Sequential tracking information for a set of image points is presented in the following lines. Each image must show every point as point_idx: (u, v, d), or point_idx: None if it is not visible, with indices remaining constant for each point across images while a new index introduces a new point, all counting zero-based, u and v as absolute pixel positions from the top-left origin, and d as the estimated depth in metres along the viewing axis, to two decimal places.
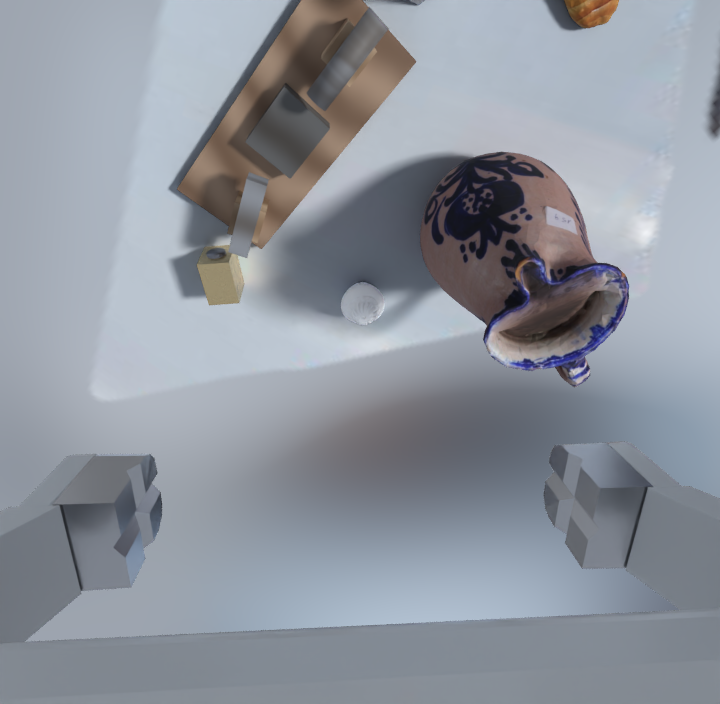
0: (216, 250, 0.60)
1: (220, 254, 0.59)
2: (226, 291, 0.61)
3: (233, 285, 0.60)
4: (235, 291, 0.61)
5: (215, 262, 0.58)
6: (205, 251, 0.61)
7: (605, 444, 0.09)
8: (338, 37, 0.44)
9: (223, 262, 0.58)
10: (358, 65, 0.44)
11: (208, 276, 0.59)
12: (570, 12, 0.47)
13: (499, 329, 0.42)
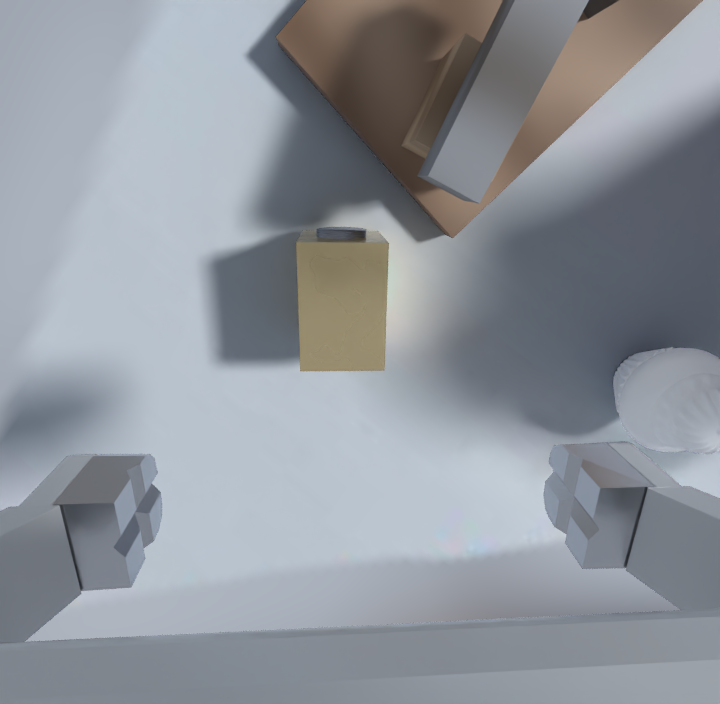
0: (341, 228, 0.23)
1: (358, 231, 0.22)
2: (358, 332, 0.22)
3: (382, 315, 0.21)
4: (383, 335, 0.22)
5: (350, 241, 0.20)
6: (309, 233, 0.23)
7: (605, 444, 0.09)
8: None
9: (372, 242, 0.20)
10: None
11: (321, 284, 0.21)
12: None
13: None
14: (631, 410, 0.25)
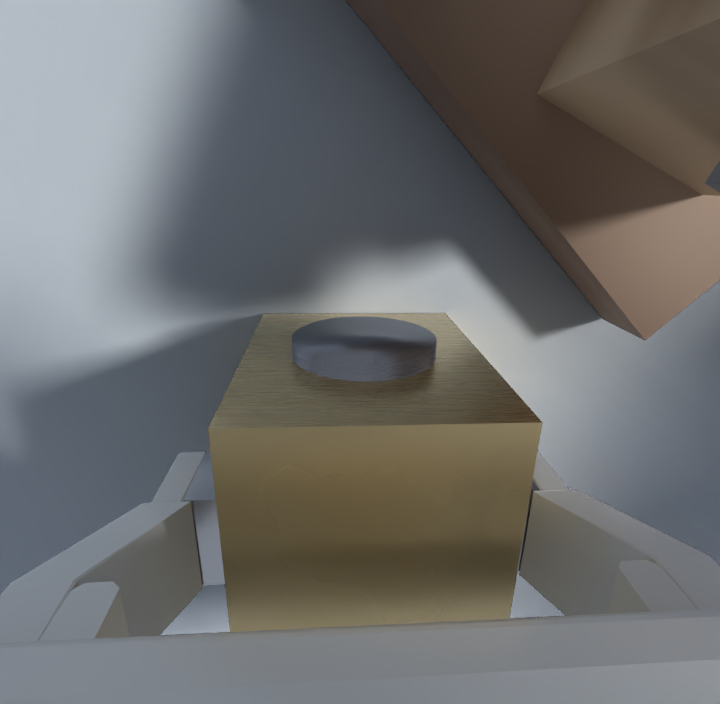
0: (361, 327, 0.08)
1: (419, 352, 0.07)
2: None
3: None
4: None
5: (404, 415, 0.06)
6: (276, 334, 0.09)
7: None
8: None
9: (480, 416, 0.06)
10: None
11: (303, 548, 0.06)
12: None
13: None
14: None
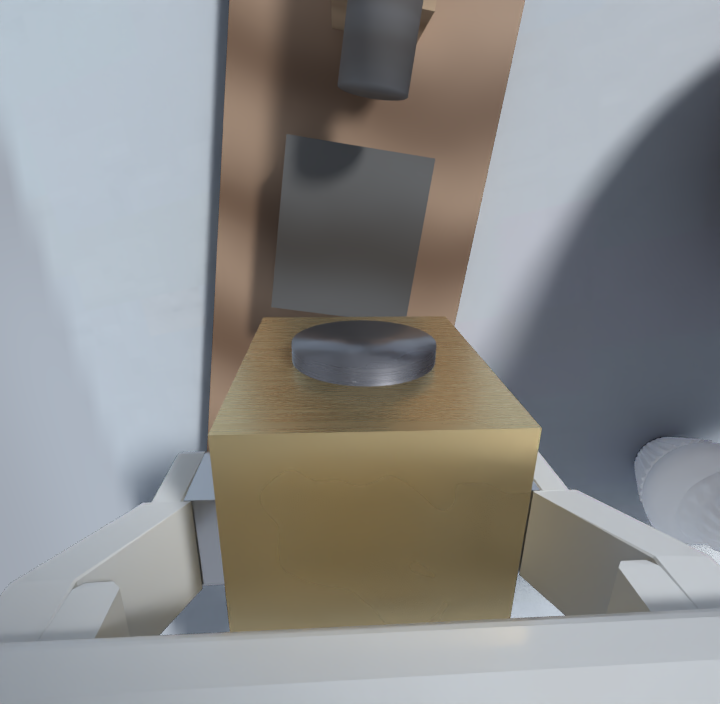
0: (361, 331, 0.08)
1: (418, 357, 0.07)
2: None
3: None
4: None
5: (404, 420, 0.06)
6: (276, 337, 0.09)
7: None
8: None
9: (479, 421, 0.06)
10: None
11: (303, 554, 0.06)
12: None
13: None
14: (661, 530, 0.26)
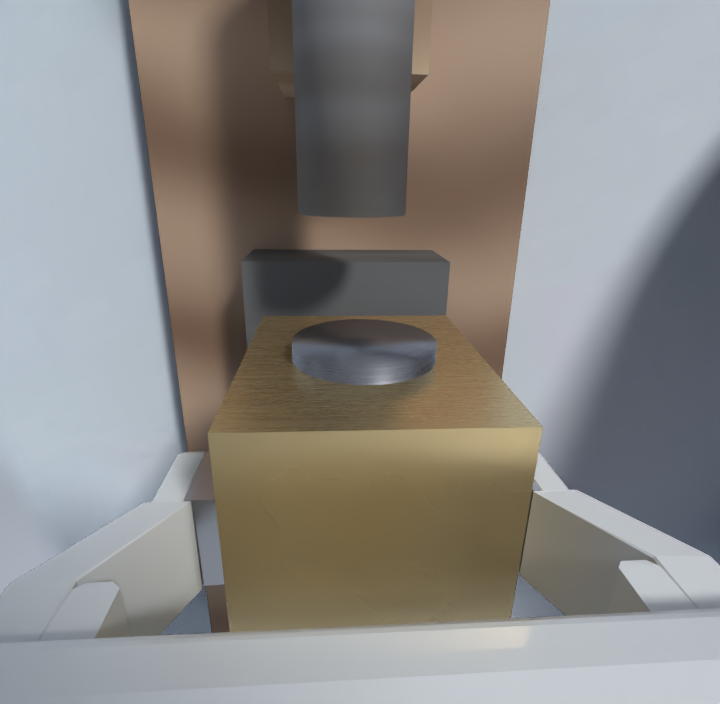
0: (361, 330, 0.08)
1: (419, 355, 0.07)
2: None
3: None
4: None
5: (405, 420, 0.06)
6: (275, 337, 0.09)
7: None
8: None
9: (481, 419, 0.06)
10: None
11: (303, 553, 0.06)
12: None
13: None
14: None
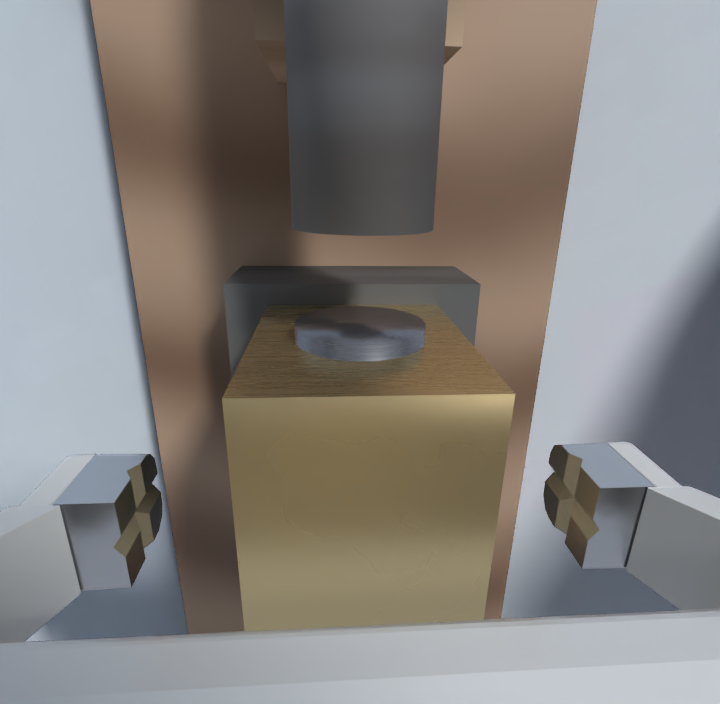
0: (358, 315, 0.09)
1: (409, 335, 0.08)
2: (410, 618, 0.08)
3: (480, 578, 0.08)
4: (476, 619, 0.08)
5: (394, 388, 0.07)
6: (280, 322, 0.10)
7: (605, 444, 0.09)
8: None
9: (461, 388, 0.07)
10: None
11: (305, 508, 0.07)
12: None
13: None
14: None
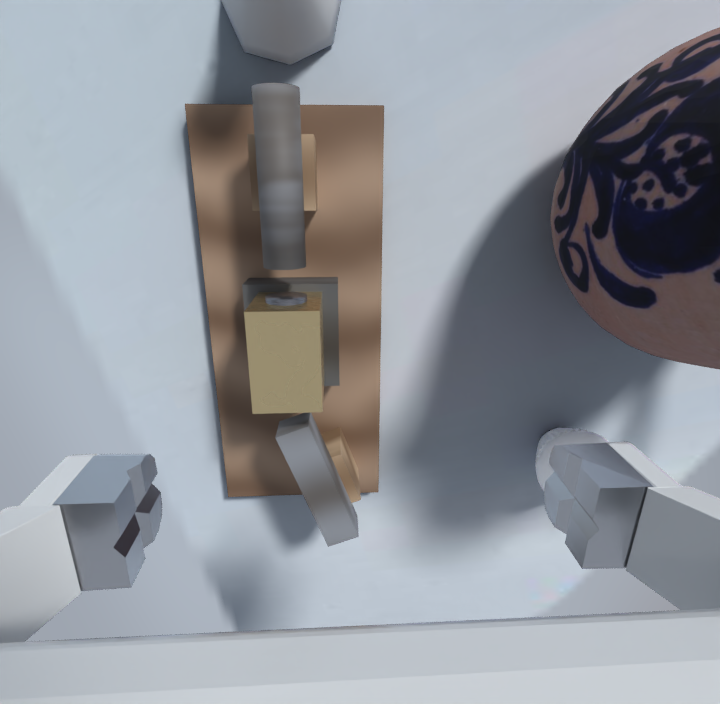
0: (286, 294, 0.28)
1: (298, 298, 0.26)
2: (299, 382, 0.26)
3: (318, 368, 0.26)
4: (319, 383, 0.26)
5: (288, 310, 0.25)
6: (261, 297, 0.28)
7: (605, 444, 0.09)
8: (251, 165, 0.26)
9: (306, 310, 0.25)
10: (297, 170, 0.24)
11: (266, 344, 0.25)
12: None
13: None
14: None
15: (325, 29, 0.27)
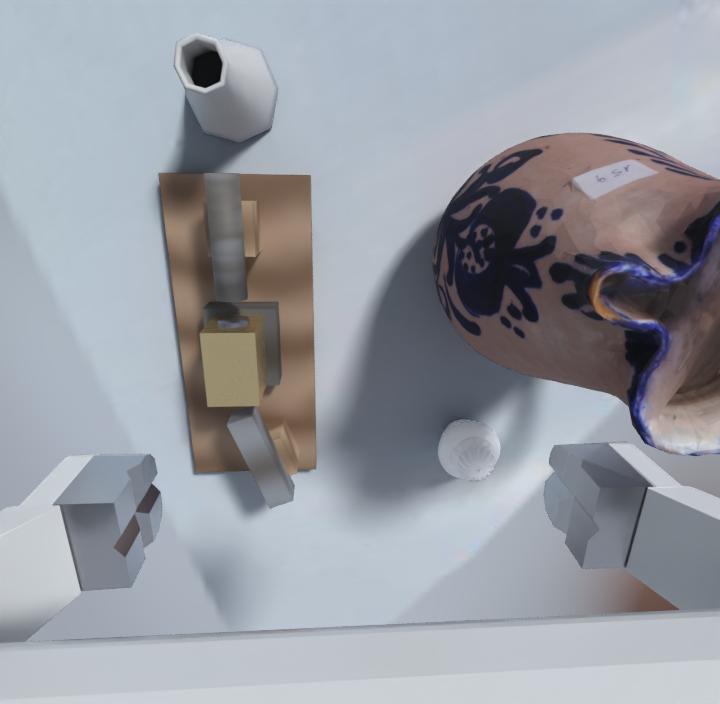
0: (234, 317, 0.37)
1: (241, 322, 0.36)
2: (241, 384, 0.36)
3: (255, 374, 0.36)
4: (256, 385, 0.36)
5: (232, 331, 0.35)
6: (216, 319, 0.38)
7: (605, 444, 0.09)
8: (206, 224, 0.35)
9: (245, 332, 0.35)
10: (238, 231, 0.34)
11: (216, 356, 0.35)
12: None
13: (659, 408, 0.21)
14: (449, 473, 0.46)
15: (263, 121, 0.36)
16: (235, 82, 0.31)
